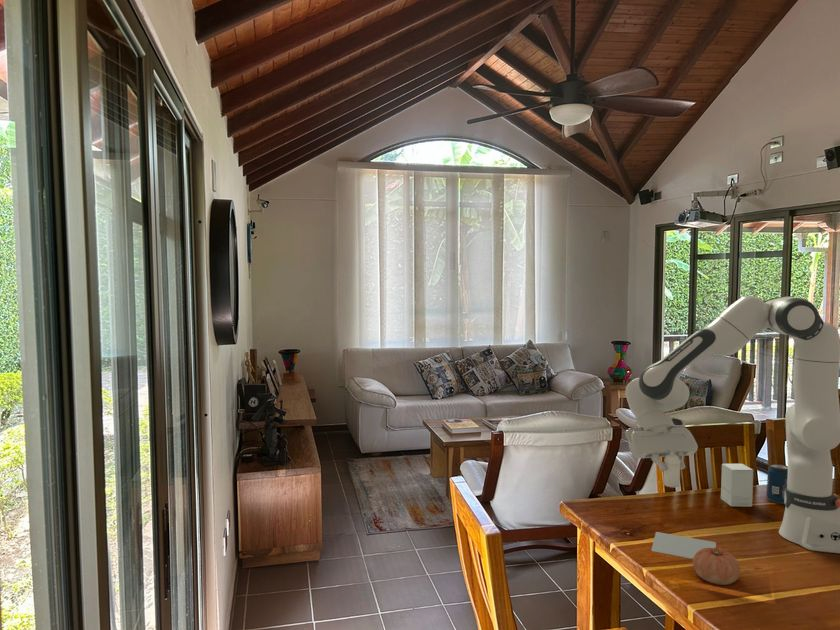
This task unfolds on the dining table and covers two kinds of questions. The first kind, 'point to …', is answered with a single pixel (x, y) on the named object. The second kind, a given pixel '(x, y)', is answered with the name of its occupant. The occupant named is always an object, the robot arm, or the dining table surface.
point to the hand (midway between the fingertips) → (673, 468)
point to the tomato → (716, 566)
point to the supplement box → (737, 485)
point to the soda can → (777, 482)
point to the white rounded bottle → (672, 470)
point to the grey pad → (679, 545)
